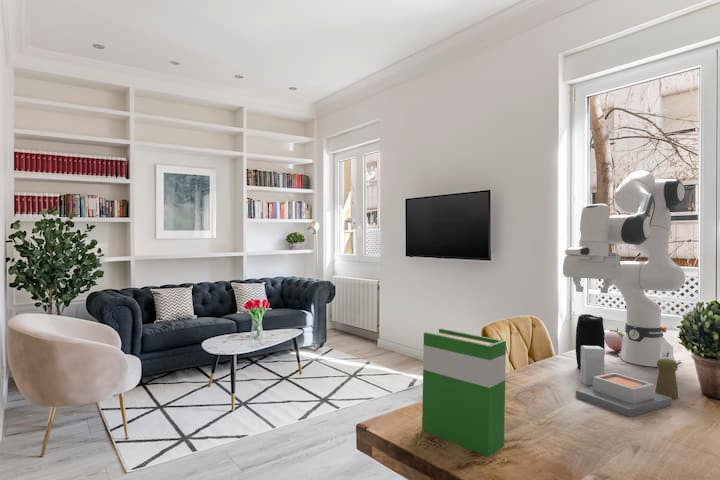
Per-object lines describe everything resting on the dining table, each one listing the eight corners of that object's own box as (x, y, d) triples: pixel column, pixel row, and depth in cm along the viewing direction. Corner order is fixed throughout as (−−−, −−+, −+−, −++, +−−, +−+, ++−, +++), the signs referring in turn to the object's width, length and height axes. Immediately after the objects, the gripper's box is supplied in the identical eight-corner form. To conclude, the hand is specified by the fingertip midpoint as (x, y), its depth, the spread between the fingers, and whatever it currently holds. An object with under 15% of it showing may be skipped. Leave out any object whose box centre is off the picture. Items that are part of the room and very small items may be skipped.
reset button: (616, 383, 134) (616, 376, 134) (643, 391, 127) (643, 384, 127) (603, 386, 131) (603, 379, 131) (630, 394, 124) (630, 387, 124)
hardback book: (422, 430, 108) (423, 332, 107) (439, 421, 113) (441, 328, 113) (488, 456, 95) (490, 346, 95) (504, 445, 101) (506, 341, 100)
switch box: (617, 387, 141) (617, 368, 141) (671, 404, 127) (671, 384, 127) (575, 396, 132) (576, 377, 132) (629, 416, 118) (629, 394, 118)
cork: (682, 399, 131) (683, 363, 131) (660, 398, 132) (660, 361, 132) (672, 392, 137) (673, 357, 137) (651, 391, 138) (651, 356, 138)
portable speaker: (577, 364, 166) (578, 312, 165) (605, 369, 160) (607, 316, 160) (572, 370, 159) (574, 316, 158) (602, 375, 153) (603, 319, 153)
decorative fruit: (599, 350, 188) (599, 326, 187) (614, 349, 190) (614, 326, 190) (618, 356, 179) (618, 331, 178) (633, 354, 181) (634, 330, 181)
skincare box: (598, 381, 146) (599, 345, 146) (604, 386, 142) (605, 349, 142) (579, 380, 147) (580, 345, 147) (584, 385, 143) (585, 348, 143)
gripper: (613, 253, 153) (611, 292, 152) (560, 249, 149) (559, 290, 148) (627, 253, 147) (626, 294, 146) (573, 249, 143) (571, 291, 142)
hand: (591, 292), depth 147 cm, fingers open, 8 cm apart
